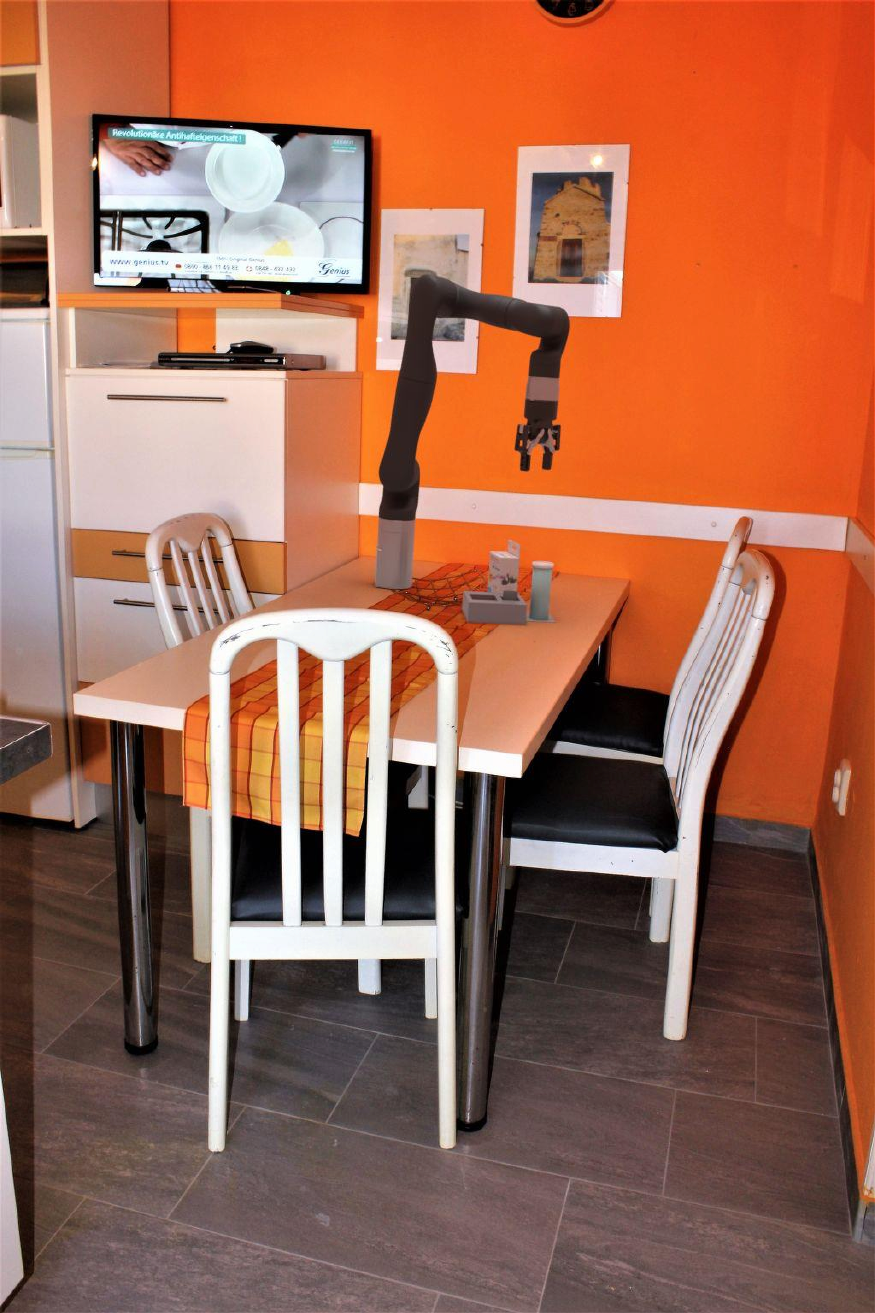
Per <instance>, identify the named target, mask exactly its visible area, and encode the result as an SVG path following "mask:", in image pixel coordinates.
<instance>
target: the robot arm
mask: <svg viewBox="0 0 875 1313" xmlns="http://www.w3.org/2000/svg"><path fill="white" fill-rule="evenodd" d="M409 297H410V298H409V304H408V306H409V307H408V316H407V325H406V333H405V334H406V335H405V340H404V346H403V352H402V358H401V363H400V368H399V372H398V376H397V380H396V387H395V392H394V397H393V399H394V400H393V403H392V405H393V406H392V412H391V420H390V428H389V434H388V437H387V440H386V443H385V444H386V445H385V448H384V451H383V454H382V457H381V460H380V464H379V467H378V478H379V481H380V483H381V486H382V493H381V494H382V496H381V500H380V504H379V507H378V521H377V522H378V524H377V542H376V544H377V545H376V556H375V569H374V570H375V573H374V574H375V575H374V587H376V588H383V589H387V590H388V589H389V590H390V589H392V590H405V589H410V588H412V583H413V582H412V581H413V564H414V549H415V548H414V547H415V532H416V531H415V530H416V517H417V509H418V505H419V496H420V495H419V494H420V482H421V469H420V464H419V462H418V460H417V459H416V458H417V457H416V456H417V450H418V445H419V444H418V443H419V440H420V436H421V433H422V430H423V428H424V426H425V423H426V420H427V418H428V415H429V412H430V410H431V407H432V404H433V400H434V395H435V391H436V386H437V385H436V384H437V380H438V369H437V364H436V363H437V362H436V358H435V353H434V352H435V351H434V346H433V338H434V330H435V325H436V320H437V319H466V320H473V321H478V322H479V323H483V324H486V325H489V326H492V327H496V328H499V329H504V330H508V331H513V332H519V333H521V334H525V335H528V336H531V337H535V338H538V339H540V340H539V345H538V348H537V349H534V350H533V351H532V352H531V353H530V355H529V362H528V364H529V365H528V375H527V382H526V386H525V397H524V408H523V409H524V410H523V417H524V419H526V420H527V421H526V424H524V423H523V424H522V423H518V424H517V426H516V432H515V433H516V435H515V443H514V451H515V452H518V453H519V454H520V458H519V459H520V460H519V461H520V462H519V470H520V471H521V472H530V469H531V458H532V454H531V453H532V451H533V449H534V448H535V447H537V446H538V445H540V446H541V447H542V451H543V453H542V459H541V460H542V462H541V469H542V470H543V471H550V470H552V466H553V458H554V457H553V456H554V454H555V453H556V451H557V452H558V451H559V450H560V448H561V431H562V430H561V429H562V426H561V424H557V423H553V421H556V420H557V418H558V412H559V411H558V410H559V399H560V374H561V362H562V361H561V360H562V357H563V354H564V352H565V349H566V346H567V342H568V338H569V334H570V331H571V329H570V328H571V322H570V316H569V314H568V312H567V311H566V310H565V308H563V307H560V306H556V305H547V304H542V303H536V302H529V301H526V300H524V299H521V298H517V297H511V296H508V295H502V294H494V293H482V292H478V291H475V290H471V289H469V288H467V287H464V286H462V285H460V284H458V283H455V282H454V281H452V280H451V279H449V278H445V277H442V276H438V275H435V274H432V273H431V274H429V273H427V274H426V273H425V274H423V275H420V276H419V277H418V278H417V279H416V280H415V282H414V283H413V286H412V288H411V292H410V296H409Z"/></svg>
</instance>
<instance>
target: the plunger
mask: <svg viewBox="0 0 875 1313" xmlns="http://www.w3.org/2000/svg"><path fill="white" fill-rule="evenodd" d="M517 594H519V593H518V590H517V591H512V590H505V591H504V592H503V600H510V601H517Z"/></svg>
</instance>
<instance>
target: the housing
mask: <svg viewBox="0 0 875 1313" xmlns="http://www.w3.org/2000/svg"><path fill="white" fill-rule="evenodd" d="M527 609H528V603H526V601H525V600H524V598H523V597H522V596H521V594H520V593H518V594H517V601H510V600H503V593H495V592H487V591H473V590H472V591H471V590H464V591H463V593H462V607H461V610H462V613H463V615H464V617H465V620H466V622H467V623H471V624H472V623H475V624H498V625H499V624H500V625H515V626H516V625H517V626H518V625H519V626H526V625H527V621H526V614H528V613H527V612H528V611H527Z"/></svg>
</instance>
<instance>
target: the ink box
mask: <svg viewBox="0 0 875 1313" xmlns="http://www.w3.org/2000/svg"><path fill="white" fill-rule="evenodd" d="M513 547H514V548H515V549H514V548H513ZM520 554H521V544H519V543H517V542H515V541H513V540H511V539H508V540H507V551H496V550H495V551H492V550H491V551H489V562H488V564H489V566H488V575H487V576H488V577H487V578H488V579H487V588H486V589H487V590H486V592H495V593H503V592H504V591H505V590H512V591H517V592H518V580H519V568H520Z"/></svg>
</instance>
